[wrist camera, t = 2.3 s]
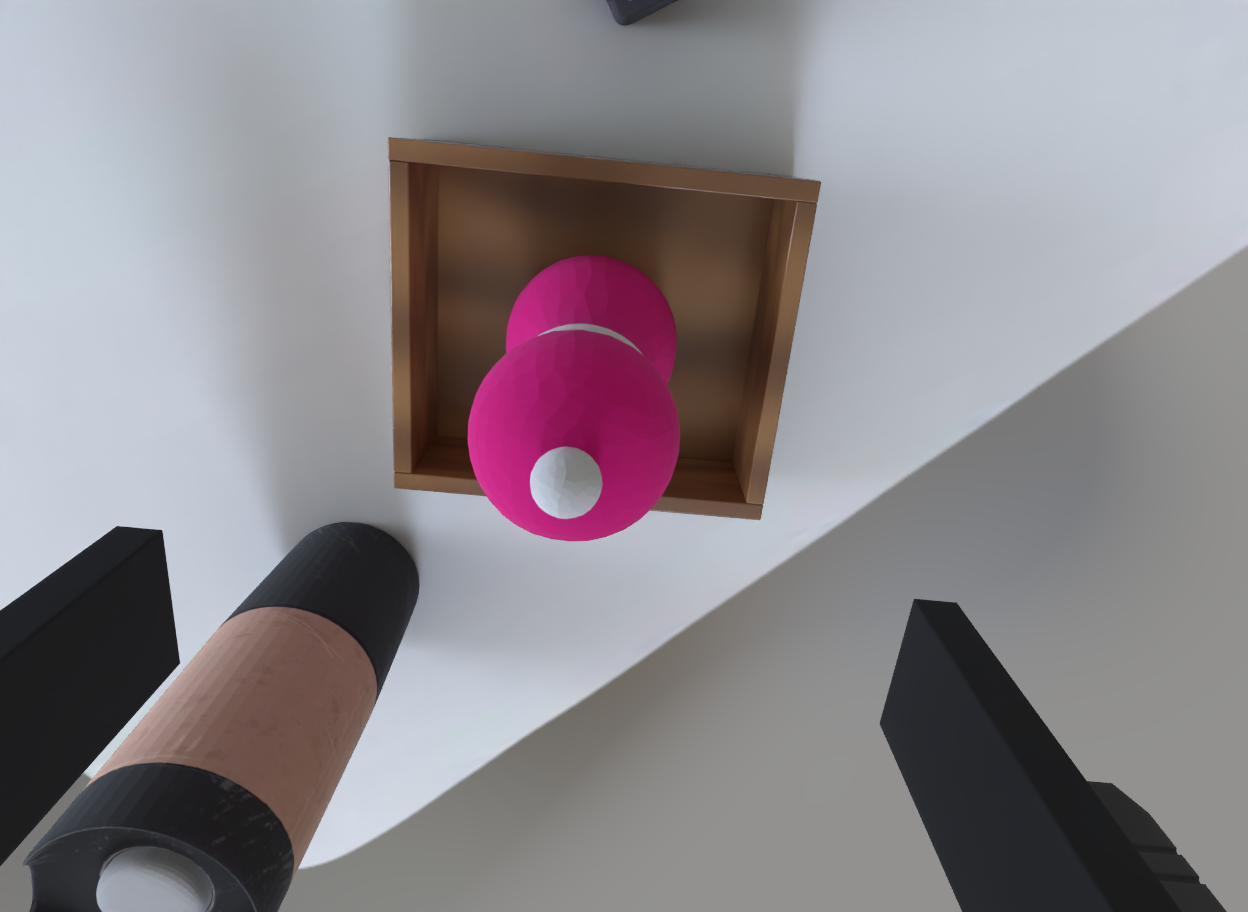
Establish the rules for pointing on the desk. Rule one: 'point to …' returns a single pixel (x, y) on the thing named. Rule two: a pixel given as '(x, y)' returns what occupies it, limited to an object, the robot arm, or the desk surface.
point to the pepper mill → (579, 403)
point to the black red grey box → (635, 9)
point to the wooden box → (608, 226)
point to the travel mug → (239, 743)
